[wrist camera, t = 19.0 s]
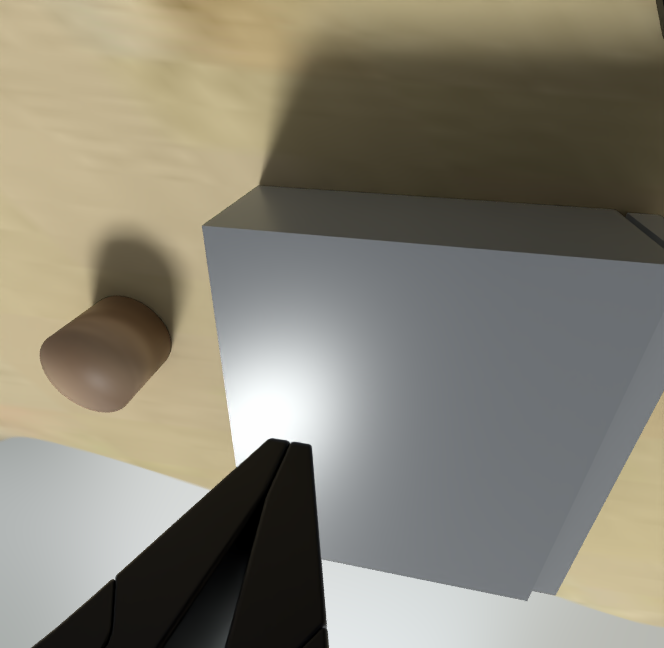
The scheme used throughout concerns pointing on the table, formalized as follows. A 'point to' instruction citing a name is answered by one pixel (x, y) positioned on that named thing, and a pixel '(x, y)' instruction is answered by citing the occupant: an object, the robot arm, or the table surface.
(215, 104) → the table surface
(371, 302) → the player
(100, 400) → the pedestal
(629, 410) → the tray
